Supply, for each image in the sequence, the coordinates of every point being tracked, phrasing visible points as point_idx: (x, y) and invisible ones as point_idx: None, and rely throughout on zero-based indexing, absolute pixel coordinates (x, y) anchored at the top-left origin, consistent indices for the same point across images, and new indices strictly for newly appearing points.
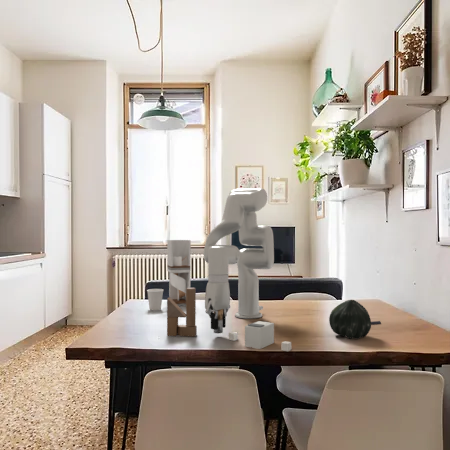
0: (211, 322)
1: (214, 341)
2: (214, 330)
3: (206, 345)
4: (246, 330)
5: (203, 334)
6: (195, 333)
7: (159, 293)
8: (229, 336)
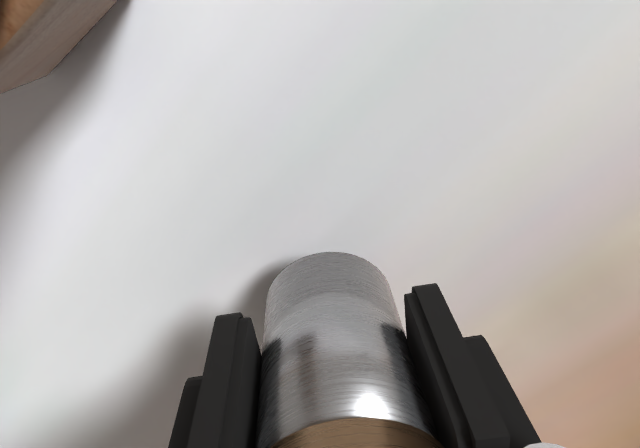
0: (171, 442)
1: (159, 373)
2: (264, 323)
3: (6, 421)
4: None
5: (259, 37)
6: (51, 59)
7: None
8: None
